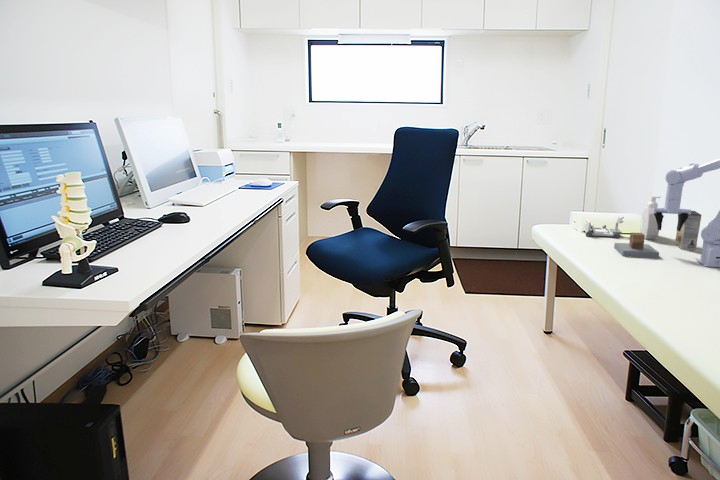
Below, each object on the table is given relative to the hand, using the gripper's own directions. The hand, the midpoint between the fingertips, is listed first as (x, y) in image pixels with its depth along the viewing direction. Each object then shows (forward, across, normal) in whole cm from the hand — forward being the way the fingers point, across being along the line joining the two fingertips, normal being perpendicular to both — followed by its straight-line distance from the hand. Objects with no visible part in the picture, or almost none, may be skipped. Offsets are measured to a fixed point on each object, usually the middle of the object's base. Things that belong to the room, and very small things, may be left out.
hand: (668, 230), depth 241 cm
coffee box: (+10, -12, -12) cm, 20 cm away
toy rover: (+10, +19, -30) cm, 37 cm away
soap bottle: (+10, -2, -30) cm, 32 cm away
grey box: (+10, +13, +3) cm, 17 cm away
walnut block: (+8, +13, +3) cm, 15 cm away
